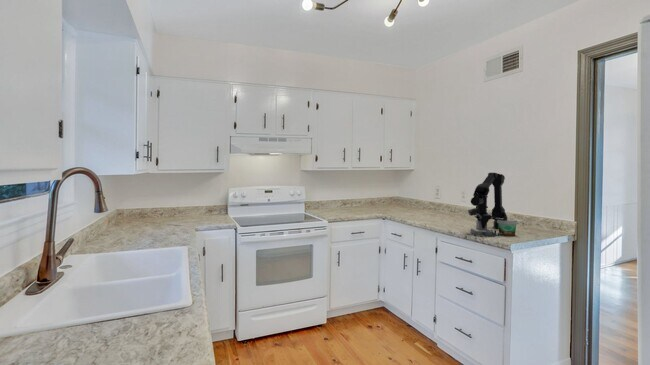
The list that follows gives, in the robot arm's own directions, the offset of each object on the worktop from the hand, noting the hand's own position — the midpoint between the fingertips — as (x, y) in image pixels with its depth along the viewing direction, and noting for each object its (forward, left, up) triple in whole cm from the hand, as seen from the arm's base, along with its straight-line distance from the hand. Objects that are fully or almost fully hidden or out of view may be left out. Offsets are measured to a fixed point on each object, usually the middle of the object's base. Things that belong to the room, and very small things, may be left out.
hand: (481, 227), depth 210 cm
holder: (0, 0, -4) cm, 4 cm away
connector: (0, 0, -2) cm, 2 cm away
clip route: (-4, +4, -4) cm, 7 cm away
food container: (-15, +4, -4) cm, 16 cm away
